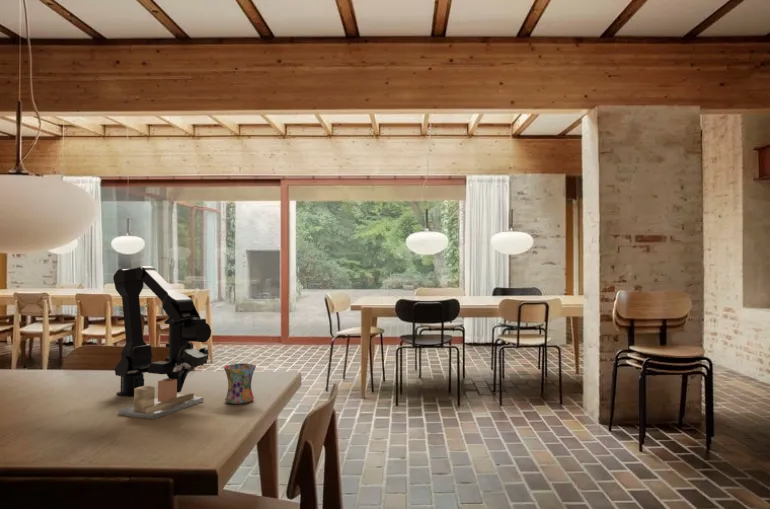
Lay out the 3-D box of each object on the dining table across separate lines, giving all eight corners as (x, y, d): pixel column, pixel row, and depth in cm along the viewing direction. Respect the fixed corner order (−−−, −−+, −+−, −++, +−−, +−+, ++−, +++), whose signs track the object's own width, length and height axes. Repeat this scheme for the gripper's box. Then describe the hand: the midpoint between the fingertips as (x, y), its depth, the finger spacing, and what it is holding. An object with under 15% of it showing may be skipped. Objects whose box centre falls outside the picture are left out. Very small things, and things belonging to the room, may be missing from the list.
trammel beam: (133, 410, 144) (133, 388, 144) (180, 395, 160) (180, 375, 161) (147, 412, 142) (147, 390, 142) (193, 397, 159) (193, 377, 159)
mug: (257, 404, 156) (258, 368, 157) (225, 407, 153) (226, 370, 153) (251, 394, 167) (251, 361, 168) (220, 397, 164) (221, 362, 164)
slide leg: (157, 401, 152) (158, 380, 152) (166, 398, 155) (167, 378, 155) (167, 402, 151) (167, 381, 151) (176, 399, 154) (177, 379, 154)
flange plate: (118, 414, 144) (118, 409, 144) (171, 397, 163) (171, 393, 163) (152, 419, 140) (152, 414, 140) (203, 401, 159) (203, 397, 159)
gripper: (178, 346, 146) (177, 402, 145) (221, 337, 163) (220, 388, 163) (147, 343, 150) (146, 398, 149) (192, 335, 167) (191, 384, 167)
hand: (178, 392), depth 157 cm, fingers closed
